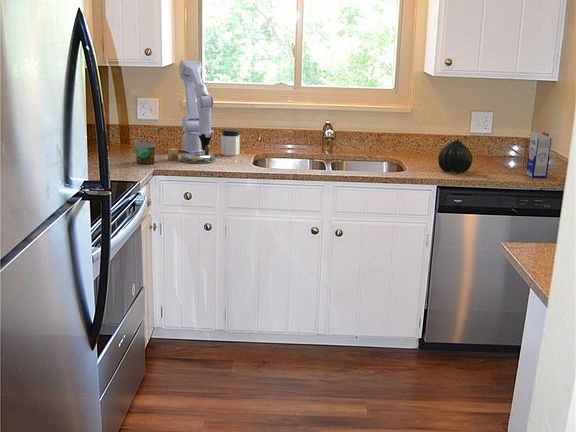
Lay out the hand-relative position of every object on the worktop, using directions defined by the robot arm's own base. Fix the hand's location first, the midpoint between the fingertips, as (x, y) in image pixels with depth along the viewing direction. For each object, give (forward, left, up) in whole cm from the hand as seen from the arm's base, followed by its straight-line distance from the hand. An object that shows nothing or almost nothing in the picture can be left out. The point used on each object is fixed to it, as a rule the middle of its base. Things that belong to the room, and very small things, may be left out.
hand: (205, 150), depth 311 cm
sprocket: (+4, -7, -3) cm, 9 cm away
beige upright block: (-3, -16, -3) cm, 16 cm away
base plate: (+4, -7, -3) cm, 9 cm away
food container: (-3, -32, -4) cm, 32 cm away
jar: (-1, +15, -4) cm, 16 cm away
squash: (+86, +77, -4) cm, 116 cm away
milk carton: (+113, +101, -4) cm, 152 cm away
